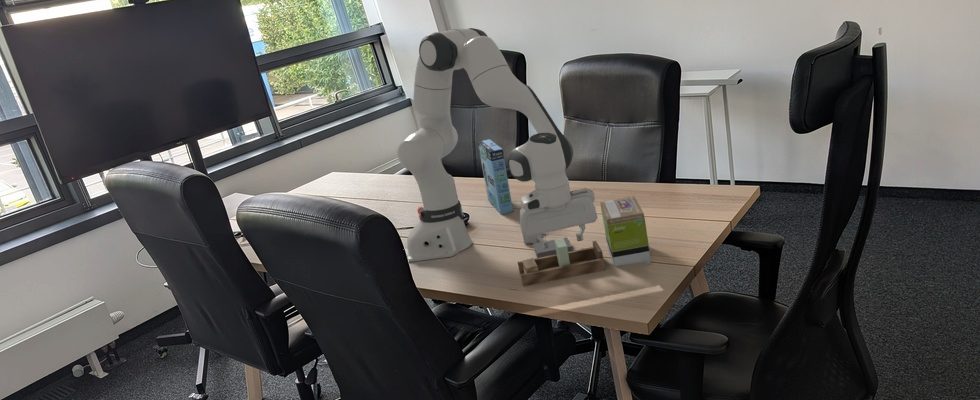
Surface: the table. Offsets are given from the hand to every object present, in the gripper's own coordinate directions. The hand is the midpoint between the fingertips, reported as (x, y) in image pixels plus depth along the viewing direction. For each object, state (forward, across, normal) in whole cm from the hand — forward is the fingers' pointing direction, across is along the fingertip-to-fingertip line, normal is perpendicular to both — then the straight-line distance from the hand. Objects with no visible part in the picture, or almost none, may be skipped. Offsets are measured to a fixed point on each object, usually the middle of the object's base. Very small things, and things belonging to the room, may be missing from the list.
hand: (562, 244), depth 198 cm
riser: (+8, +2, -15) cm, 17 cm away
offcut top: (+5, +10, 0) cm, 11 cm away
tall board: (+8, +1, 0) cm, 8 cm away
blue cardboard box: (+8, +12, -71) cm, 73 cm away
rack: (+8, +2, 0) cm, 9 cm away
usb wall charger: (+8, +5, -28) cm, 30 cm away
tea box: (+9, -17, -3) cm, 20 cm away
